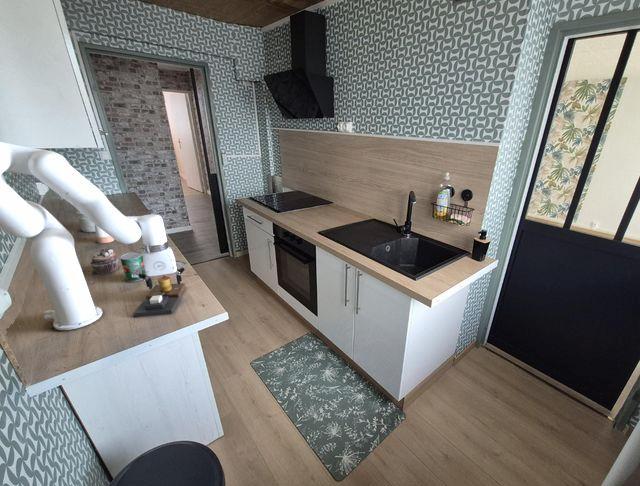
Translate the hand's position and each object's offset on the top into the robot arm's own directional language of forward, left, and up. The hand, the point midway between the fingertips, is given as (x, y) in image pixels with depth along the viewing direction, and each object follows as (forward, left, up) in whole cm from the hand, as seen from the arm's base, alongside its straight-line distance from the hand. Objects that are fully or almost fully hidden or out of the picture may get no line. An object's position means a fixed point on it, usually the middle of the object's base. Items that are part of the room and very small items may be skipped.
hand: (165, 285), depth 118 cm
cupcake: (-33, +28, -5) cm, 44 cm away
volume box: (0, 0, -4) cm, 4 cm away
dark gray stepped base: (0, -10, -4) cm, 11 cm away
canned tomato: (-17, +18, -5) cm, 25 cm away
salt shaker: (-52, +67, -5) cm, 85 cm away
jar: (-67, +89, -5) cm, 112 cm away
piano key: (0, -10, -1) cm, 10 cm away
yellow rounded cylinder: (0, 0, -2) cm, 2 cm away
